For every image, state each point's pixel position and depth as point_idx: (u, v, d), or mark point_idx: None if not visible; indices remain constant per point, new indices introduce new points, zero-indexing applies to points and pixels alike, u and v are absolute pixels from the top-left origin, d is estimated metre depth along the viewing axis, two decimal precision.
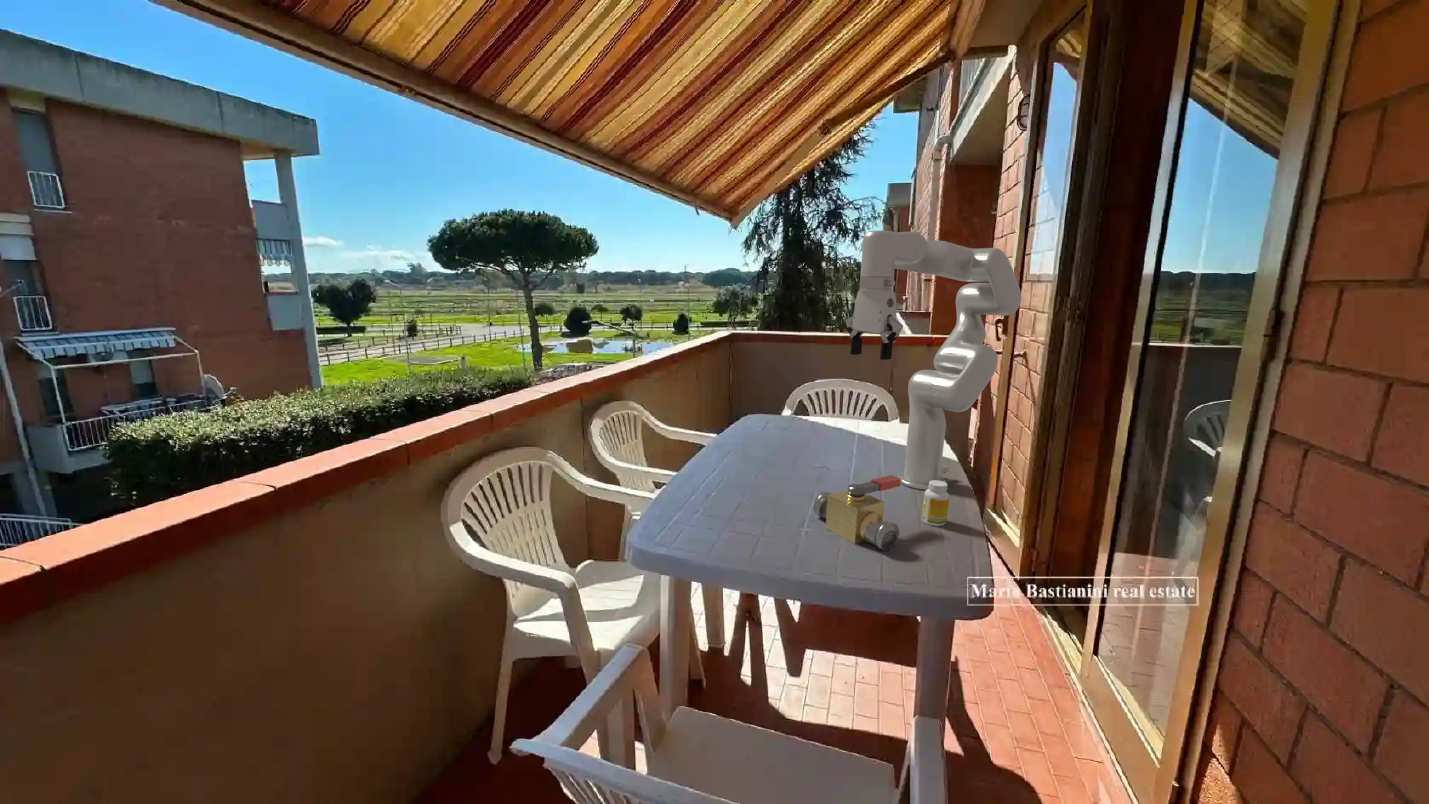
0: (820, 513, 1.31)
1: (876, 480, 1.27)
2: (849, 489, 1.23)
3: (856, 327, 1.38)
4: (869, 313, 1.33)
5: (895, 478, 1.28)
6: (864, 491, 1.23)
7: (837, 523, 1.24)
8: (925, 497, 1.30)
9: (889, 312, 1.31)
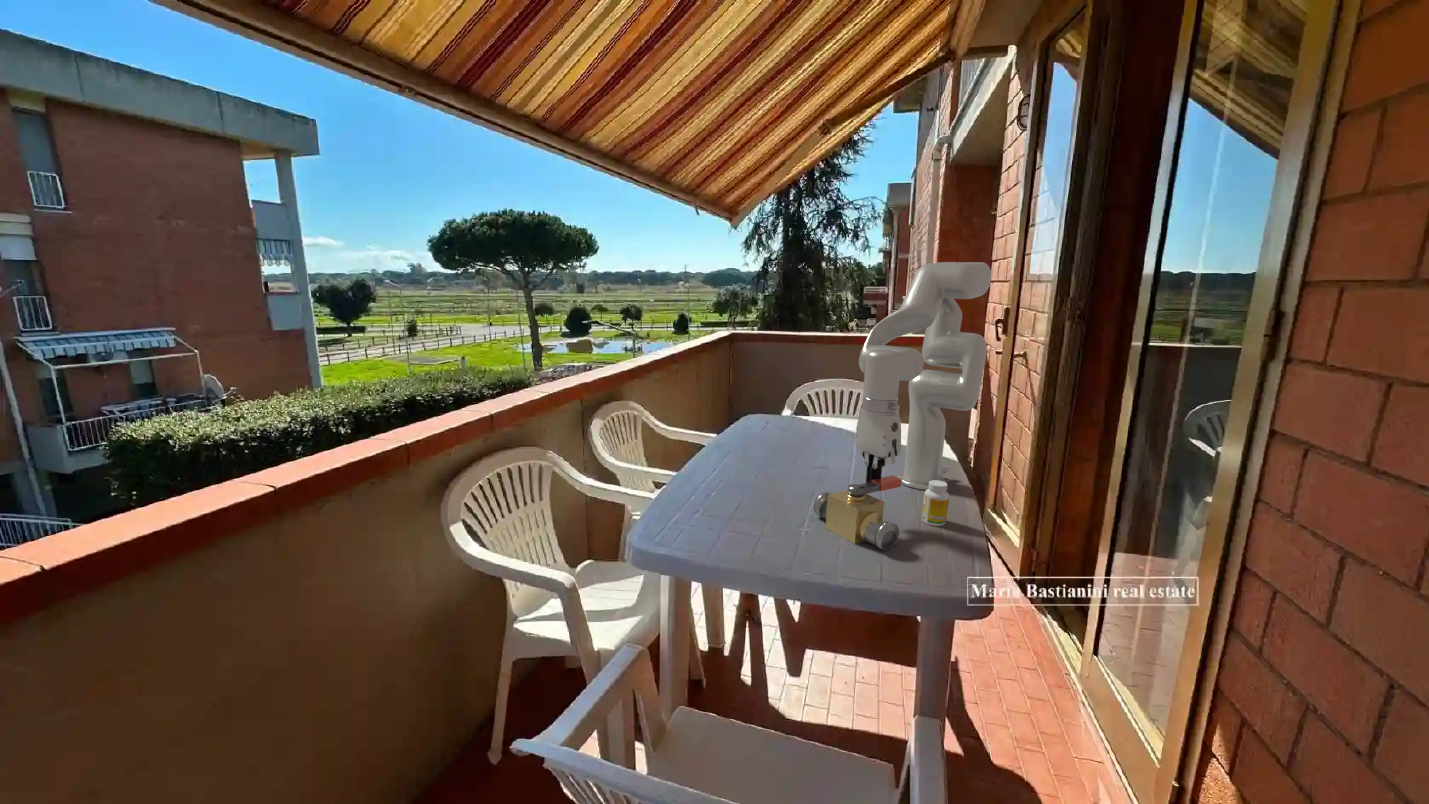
0: (820, 513, 1.31)
1: (876, 480, 1.27)
2: (849, 489, 1.23)
3: (859, 446, 1.30)
4: (872, 435, 1.26)
5: (896, 479, 1.28)
6: (864, 491, 1.23)
7: (837, 523, 1.24)
8: (925, 497, 1.30)
9: (893, 437, 1.24)
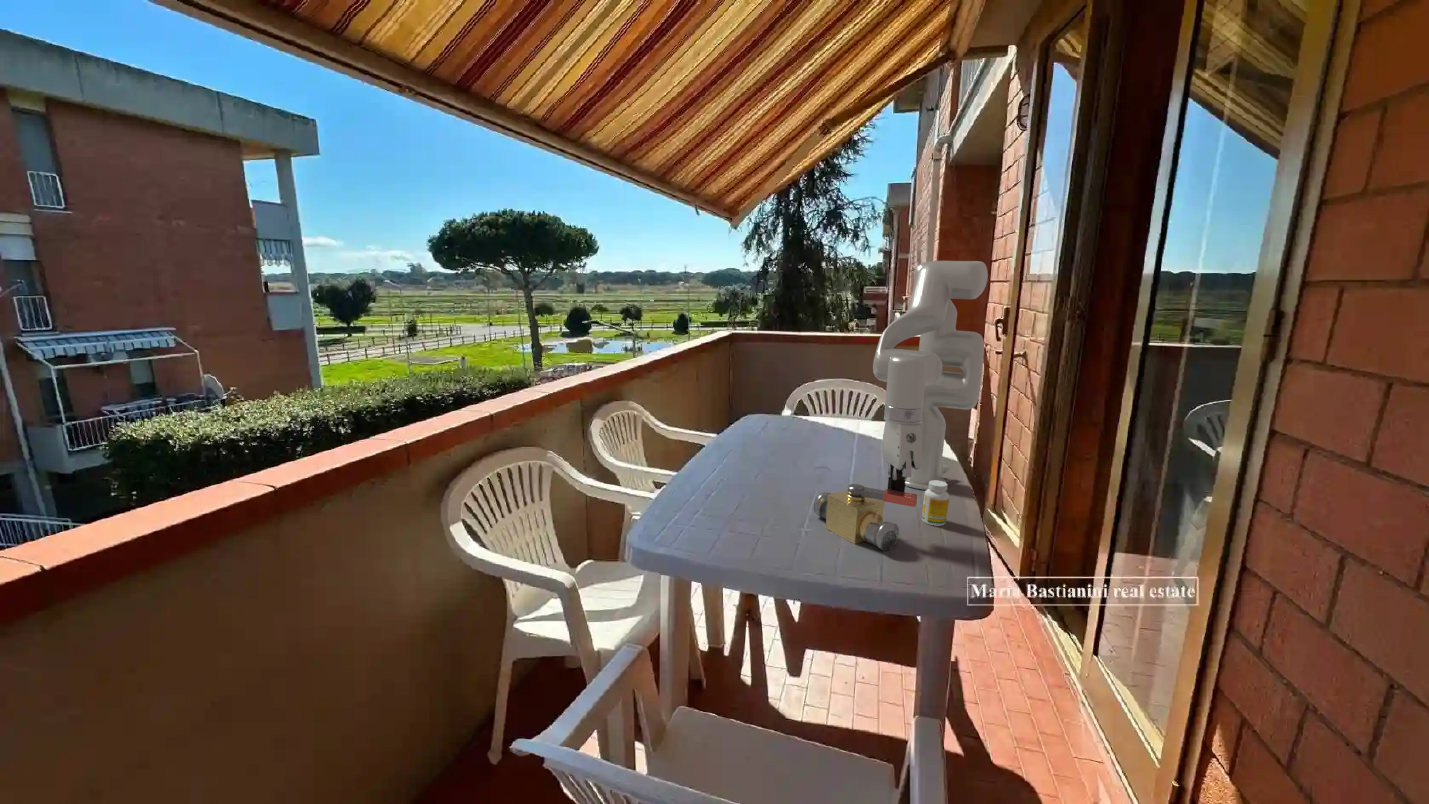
0: (820, 513, 1.31)
1: (888, 491, 1.21)
2: None
3: (883, 455, 1.24)
4: (891, 445, 1.19)
5: (910, 497, 1.18)
6: (859, 493, 1.22)
7: (837, 523, 1.24)
8: (925, 497, 1.30)
9: (909, 448, 1.16)
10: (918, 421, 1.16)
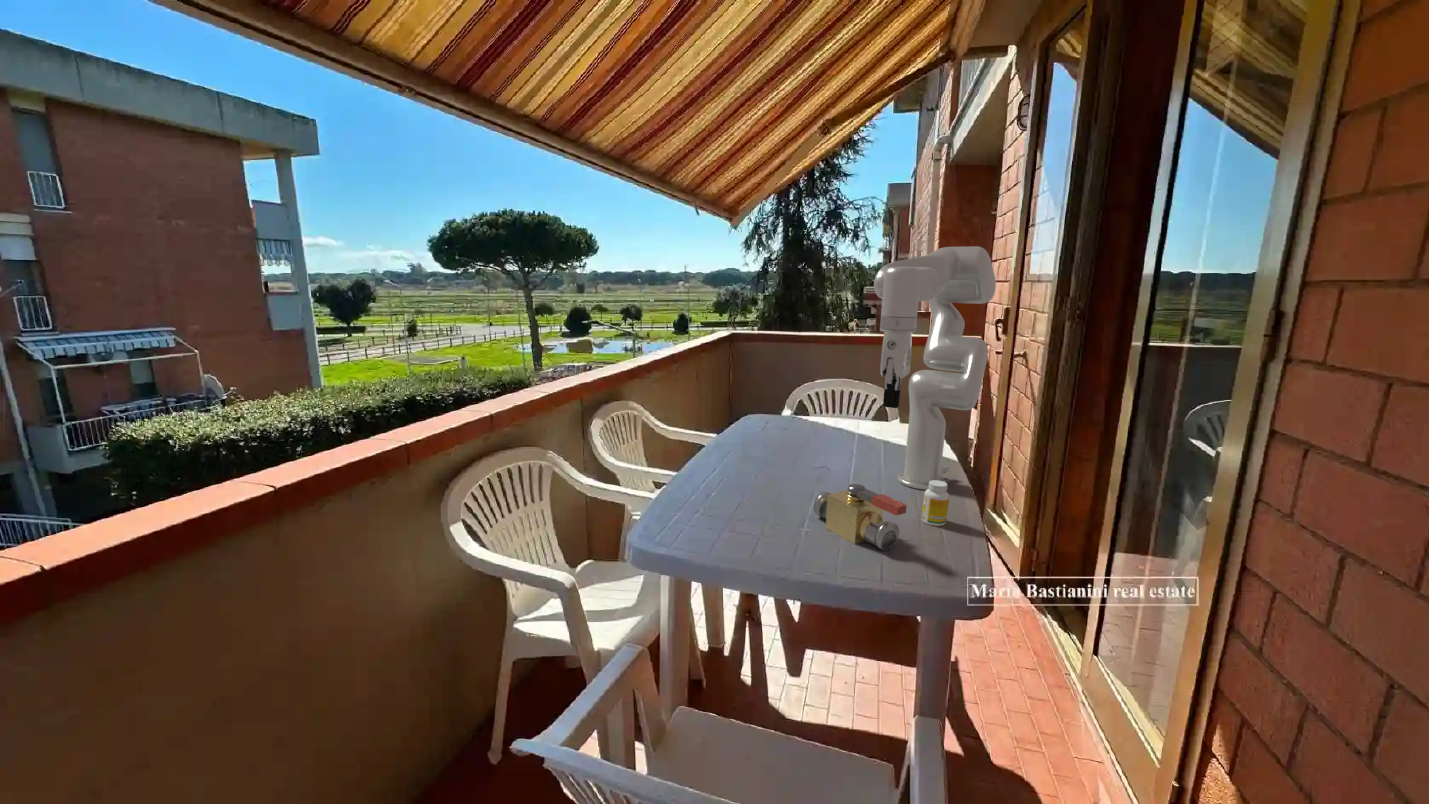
0: (820, 513, 1.31)
1: (881, 495, 1.18)
2: None
3: None
4: None
5: (894, 504, 1.13)
6: (854, 492, 1.22)
7: (837, 523, 1.24)
8: (925, 497, 1.30)
9: (889, 355, 1.20)
10: (904, 330, 1.20)
